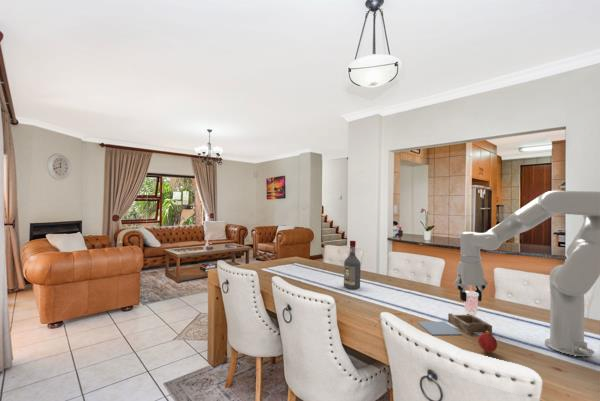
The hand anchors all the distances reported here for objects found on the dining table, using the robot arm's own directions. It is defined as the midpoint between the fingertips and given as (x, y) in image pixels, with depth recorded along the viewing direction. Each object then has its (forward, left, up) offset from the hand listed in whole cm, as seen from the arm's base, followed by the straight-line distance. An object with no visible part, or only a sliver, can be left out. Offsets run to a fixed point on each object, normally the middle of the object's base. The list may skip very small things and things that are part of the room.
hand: (470, 300), depth 128 cm
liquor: (+62, +37, -12) cm, 74 cm away
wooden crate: (0, 0, -12) cm, 12 cm away
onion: (-22, +8, -12) cm, 26 cm away
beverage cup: (0, 0, -6) cm, 6 cm away
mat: (-1, +15, -12) cm, 19 cm away
